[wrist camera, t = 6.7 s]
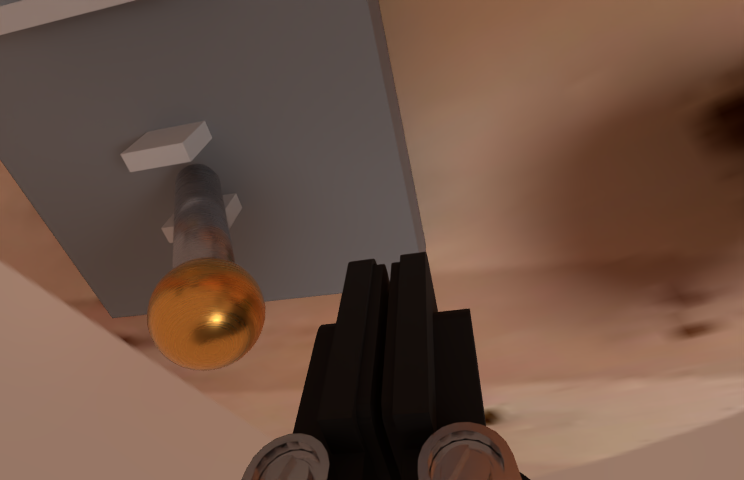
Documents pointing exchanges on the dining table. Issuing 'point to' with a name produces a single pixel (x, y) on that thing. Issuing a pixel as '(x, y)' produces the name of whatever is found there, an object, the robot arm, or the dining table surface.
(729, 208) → the dining table surface
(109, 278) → the switch panel
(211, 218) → the lever
